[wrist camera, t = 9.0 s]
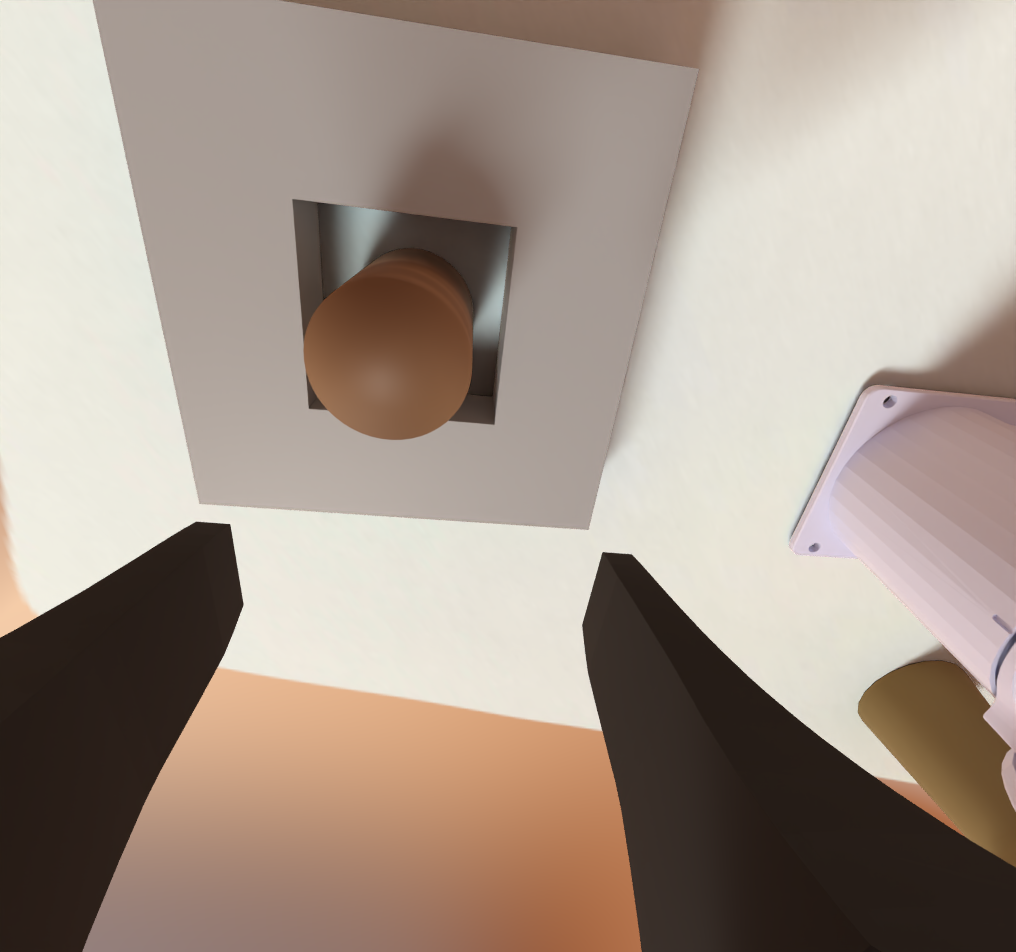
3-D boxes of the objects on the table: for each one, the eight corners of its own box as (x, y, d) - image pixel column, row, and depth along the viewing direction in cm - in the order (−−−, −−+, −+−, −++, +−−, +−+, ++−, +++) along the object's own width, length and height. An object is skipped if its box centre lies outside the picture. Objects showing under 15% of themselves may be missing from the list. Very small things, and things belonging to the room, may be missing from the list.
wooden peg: (475, 252, 17) (475, 283, 12) (471, 371, 19) (469, 442, 14) (350, 243, 17) (293, 271, 11) (358, 365, 19) (313, 436, 13)
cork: (893, 656, 28) (1101, 900, 19) (989, 665, 29) (1236, 904, 20) (838, 725, 31) (995, 966, 22) (927, 731, 32) (1115, 967, 23)
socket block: (667, 83, 15) (699, 68, 13) (577, 494, 22) (588, 529, 20) (148, 0, 14) (85, -32, 11) (228, 468, 20) (199, 503, 18)
